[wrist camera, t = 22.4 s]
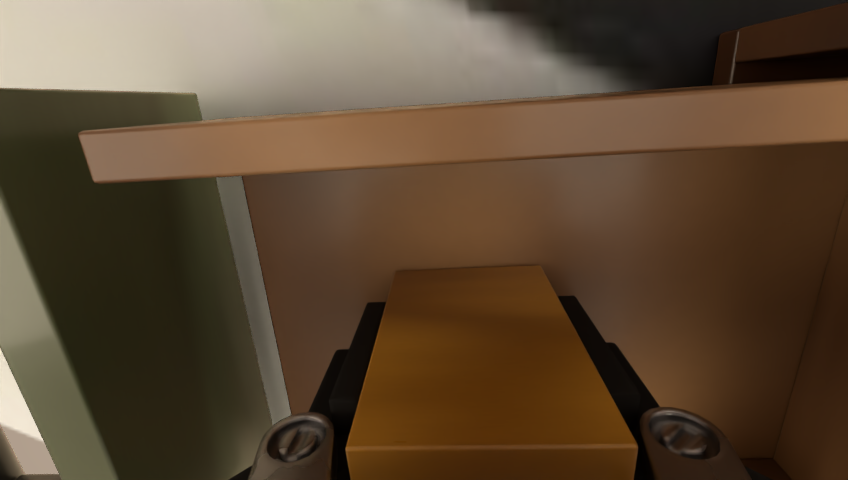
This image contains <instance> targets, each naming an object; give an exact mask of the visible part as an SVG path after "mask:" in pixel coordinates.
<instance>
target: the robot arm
mask: <svg viewBox="0 0 848 480" xmlns="http://www.w3.org/2000/svg"><path fill="white" fill-rule="evenodd" d="M557 297H558V299H559V301H560V302H561V304H562V306H563V308H564V310H565V312H566V313H567V315H568V317H569V319H570V321H571V323H572V325H573V326H574V328H575V330H576V332H577V334H578V336H579V337H580V339H581V341H582V343H583V345H584V347H585V349H586V350H587V352H588V354H589V356H590V358H591V360H592V362H593V363H594V365H595V367H596V369H597V371H598V373H599V374H600V376H601V378H602V380H603V382H604V384H605V386H606V387H607V389H608V391H609V393H610V395H611V397H612V398H613V400H614V402H615V404H616V406H617V408H618V410H619V411H620V413H621V415H622V417H623V419H624V421H625V423H626V424H627V426H628V428H629V430H630V432H631V434H632V435H633V437H634V439H635V441H636V443H637V445H638V454H637V460H636V467H635V473H634V480H773V479H771V478H769V477H766V476H764V475H762V474H760V473H758V472H756V471H754V470H752V469H750V468H748V467H746V466H744V465H743V464H742V462H741V460H740V458H739V457H738V455H737V453H736V451H735V450H734V448H733V446H732V445H731V443H730V441H729V439H728V438H727V437H726V436H725V434H724V433H723V432H722V431H721V430H720V429H719V428H718V427H717V426H715V425H714V424H713V423H712V422H710V421H709V420H707V419H705V418H703V417H701V416H700V415H698V414H695V413H692V412H690V411H687V410H684V409H679V408H674V407H660V406H659V404H658V403H657V402H656V400H655V399H654V397H653V396H652V394H651V393H650V392H649V390H648V389H647V387H646V386H645V384H644V383H643V382H642V380H641V379H640V377H639V376H638V375H637V373H636V372H635V370H634V369H633V367H632V366H631V365H630V363H629V362H628V360H627V359H626V357H625V356H624V355H623V353H622V352H621V350H620V349H619V347H618V346H617V345H616V344H615V343H612V342H605V340H604V339H603V337H602V336H601V334H600V332H599V331H598V329H597V328H596V326H595V325H594V323H593V322H592V320H591V319H590V317H589V316H588V314H587V313H586V311H585V310H584V308H583V307H582V305H581V304H580V302H579V301H578V299H577V298H576V297H575V296H574V295H571V296H557ZM385 305H386V302H368V303H367V305H366V307H365V310H364V312H363V315H362V317H361V320H360V322H359V325H358V327H357V330H356V332H355V335H354V337H353V340H352V343H351V345H350V348H349V349H338V350H336V352H335V353H334V355H333V358H332V360H331V362H330V364H329V367H328V369H327V371H326V373H325V376H324V378H323V380H322V382H321V385H320V387H319V389H318V391H317V394H316V396H315V398H314V400H313V402H312V405H311V407H310V409H309V411H308V412H303V413H298V414H294V415H291V416H289V417H286V418H284V419H282V420H280V421H279V422H277V423H276V424H275V425H273V426H272V427H271V428H270V429H269V430H268V431H267V432H266V433H265V434H264V435H263V437H262V439H261V441H260V443H259V446H258V449H257V452H256V456H255V459H254V462H253V465H252V466H250V467H248V468H247V469H245V470H243V471H242V472H240V473H238V474H237V475H235V476H233V477H232V478H230V479H228V480H351V479H350V473H349V468H348V462H347V456H346V450H345V448H346V445H347V441H348V437H349V434H350V430H351V427H352V423H353V419H354V416H355V412H356V409H357V405H358V402H359V398H360V394H361V391H362V387H363V384H364V380H365V377H366V373H367V369H368V366H369V362H370V359H371V355H372V351H373V348H374V344H375V341H376V337H377V334H378V330H379V326H380V323H381V319H382V316H383V312H384V308H385Z"/></svg>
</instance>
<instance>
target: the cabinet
mask: <svg viewBox="0 0 848 480" xmlns="http://www.w3.org/2000/svg"><path fill="white" fill-rule="evenodd" d="M847 76H848V2H846V3H842V4H838V5H834V6H829V7H825V8H821V9H817V10H813V11H809V12H805V13H801V14H797V15H792V16H788V17H784V18H780V19H776V20H772V21H768V22H764V23H759V24H755V25H751V26H747V27H743V28H740V29H736V30H732V31H727V32H724V33H722V34H721V35H720V37H719V44H718V50H717V57H716V63H715V70H714V76H713V82H712V85H727V84H742V83H757V82H772V81H787V80H802V79H817V78H832V77H847Z"/></svg>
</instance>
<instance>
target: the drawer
mask: <svg viewBox="0 0 848 480" xmlns="http://www.w3.org/2000/svg"><path fill="white" fill-rule="evenodd" d="M232 176H242V180H243V185H244V190H245V194H246V199H247V204H248V209H249V214H250V218H251V223H252V228H253V233H254V237H255V242H256V247H257V252H258V256H259V261H260V266H261V271H262V276H263V280H264V285H265V290H266V295H267V299H268V304H269V309H270V314H271V319H272V323H273V328H274V333H275V338H276V342H277V347H278V352H279V357H280V361H281V366H282V371H283V376H284V381H285V385H286V390H287V395H288V400H289V404H290V409H291V414H292V415H294V414H298V413H303V412H308V411H309V409H310V407H311V405H312V402H313V400H314V398H315V396H316V394H317V391H318V389H319V387H320V385H321V382H322V380H323V378H324V376H325V373H326V371H327V369H328V367H329V364H330V362H331V360H332V358H333V355H334V353H335V352H336V350H338V349H349V348H350V345H351V343H352V340H353V337H354V335H355V332H356V330H357V327H358V325H359V322H360V320H361V317H362V315H363V312H364V310H365V307H366V305H367V303H368V302H386V301H387V298H388V294H389V291H390V287H391V283H392V280H393V276H394V273H395V271H407V270H433V269H459V268H484V267H510V266H536V265H539V266H541V267H542V269H543V271H544V273H545V275H546V276H547V278H548V280H549V282H550V284H551V286H552V288H553V289H554V291H555V293H556V295H557V296H571V295H574V296H575V297H576V298H577V299H578V301H579V302H580V304H581V305H582V307H583V308H584V310H585V311H586V313H587V314H588V316H589V317H590V319H591V320H592V322H593V323H594V325H595V326H596V328H597V329H598V331H599V332H600V334H601V336H602V337H603V339H604V340H605V342H612V343H615V344H616V345H617V346H618V347H619V349H620V350H621V352H622V353H623V355H624V356H625V357H626V359H627V360H628V362H629V363H630V365H631V366H632V367H633V369H634V370H635V372H636V373H637V375H638V376H639V377H640V379H641V380H642V382H643V383H644V384H645V386H646V387H647V389H648V390H649V392H650V393H651V394H652V396H653V397H654V399H655V400H656V402H657V403H658V404H659V406H660V407H674V408H679V409H684V410H687V411H690V412H692V413H695V414H698V415H700V416H701V417H703V418H705V419H707V420H709V421H710V422H712V423H713V424H714V425H715V426H717V427H718V428H719V429H720V430H721V431H722V432H723V433H724V434H725V436H726V437H727V438H728V439H729V441H730V443H731V445H732V446H733V448H734V450H735V451H736V453H737V455H738V457H739V458H740V460H741V462H742V464H743V465H744V466H746V467H748V468H750V469H752V470H754V471H756V472H758V473H760V474H762V475H764V476H766V477H769V478H771V479H773V480H848V76H847V77H832V78H817V79H802V80H787V81H772V82H757V83H742V84H727V85H712V86H697V87H683V88H668V89H653V90H638V91H623V92H608V93H593V94H578V95H563V96H548V97H533V98H518V99H503V100H489V101H474V102H459V103H444V104H429V105H414V106H399V107H384V108H369V109H354V110H339V111H324V112H309V113H295V114H280V115H265V116H250V117H237V118H225V119H214V120H202V116H201V112H200V108H199V103H198V99H197V95H196V94H195V93H174V92H136V91H98V90H60V89H23V88H0V348H1V350H2V352H3V354H4V357H5V359H6V361H7V363H8V365H9V367H10V369H11V372H12V374H13V376H14V378H15V380H16V382H17V384H18V387H19V389H20V391H21V393H22V395H23V397H24V399H25V402H26V404H27V406H28V408H29V410H30V412H31V415H32V417H33V419H34V421H35V423H36V425H37V427H38V430H39V432H40V434H41V436H42V438H43V440H44V442H45V445H46V447H47V449H48V451H49V453H50V455H51V457H52V460H53V462H54V464H55V466H56V468H57V470H58V473H59V474H25V473H24V471H23V469H22V467H21V465H20V463H19V461H18V459H17V457H16V455H15V453H14V451H13V449H12V447H11V445H10V443H9V441H8V439H7V437H6V435H5V433H4V431H3V429H2V427H1V425H0V480H228V479H230V478H232V477H233V476H235V475H237V474H238V473H240V472H242V471H243V470H245V469H247V468H248V467H250V466H252V465H253V462H254V459H255V456H256V452H257V449H258V446H259V443H260V441H261V439H262V437H263V435H264V434H265V433H266V432H267V431H268V430H269V429H270V428H271V427H272V426H273V424H272V420H271V416H270V411H269V407H268V403H267V398H266V394H265V390H264V385H263V381H262V377H261V372H260V368H259V364H258V359H257V355H256V351H255V346H254V342H253V338H252V333H251V329H250V325H249V320H248V316H247V311H246V307H245V303H244V298H243V294H242V290H241V285H240V281H239V277H238V272H237V268H236V264H235V259H234V255H233V251H232V246H231V242H230V238H229V233H228V229H227V225H226V220H225V216H224V212H223V207H222V203H221V199H220V194H219V190H218V186H217V181H216V177H232Z"/></svg>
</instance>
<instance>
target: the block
mask: <svg viewBox="0 0 848 480" xmlns="http://www.w3.org/2000/svg"><path fill="white" fill-rule="evenodd" d="M345 450H346V456H347V462H348V468H349V473H350V479H351V480H634V473H635V467H636V460H637V454H638V445H637V443H636V441H635V439H634V437H633V435H632V434H631V432H630V430H629V428H628V426H627V424H626V423H625V421H624V419H623V417H622V415H621V413H620V411H619V410H618V408H617V406H616V404H615V402H614V400H613V398H612V397H611V395H610V393H609V391H608V389H607V387H606V386H605V384H604V382H603V380H602V378H601V376H600V374H599V373H598V371H597V369H596V367H595V365H594V363H593V362H592V360H591V358H590V356H589V354H588V352H587V350H586V349H585V347H584V345H583V343H582V341H581V339H580V337H579V336H578V334H577V332H576V330H575V328H574V326H573V325H572V323H571V321H570V319H569V317H568V315H567V313H566V312H565V310H564V308H563V306H562V304H561V302H560V301H559V299H558V297H557V295H556V293H555V291H554V289H553V288H552V286H551V284H550V282H549V280H548V278H547V276H546V275H545V273H544V271H543V269H542V267H541V266H539V265H536V266H510V267H484V268H459V269H433V270H407V271H395V273H394V276H393V280H392V283H391V287H390V291H389V294H388V298H387V301H386V305H385V308H384V312H383V316H382V319H381V323H380V326H379V330H378V334H377V337H376V341H375V344H374V348H373V351H372V355H371V359H370V362H369V366H368V369H367V373H366V377H365V380H364V384H363V387H362V391H361V394H360V398H359V402H358V405H357V409H356V412H355V416H354V419H353V423H352V427H351V430H350V434H349V437H348V441H347V445H346V448H345Z"/></svg>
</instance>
